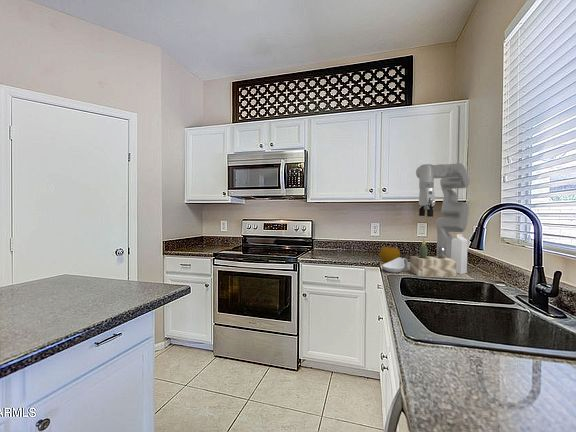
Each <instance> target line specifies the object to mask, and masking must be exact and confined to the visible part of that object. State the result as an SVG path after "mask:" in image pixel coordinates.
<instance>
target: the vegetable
mask: <svg viewBox="0 0 576 432" xmlns="http://www.w3.org/2000/svg"><path fill="white" fill-rule="evenodd" d="M426 243H427V242H426V238H425V237H423V239H422V242H421V245H419V248H418V253H419V254H418V256H419V257H420V258H423V259H427V256H428V246H427V245H426Z"/></svg>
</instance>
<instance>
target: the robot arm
mask: <svg viewBox="0 0 576 432" xmlns="http://www.w3.org/2000/svg"><path fill="white" fill-rule="evenodd" d="M415 175H416V177H417V179H418V180H419V181H418V189H419V193H418V194H419V195H418V202H417V203H418V216H419V217H425V216H426V217H429V218H431V217H434V209H435V208H434V207H435V206H436V205H435V203H436V199H435V189H434V188H435V187H434V186H435V185H434V184H435V180H434V179H440V182H439V184H440V189H441V191H442V194H443V201H442V205H441V209H440V213H441V215H443V216H440V217H438V218H436V221H435V226H436V257H438V247H446V257H448V258H451V243H452V239H454V236H453V234H452V233H463V232H464V233H465V231H466V230H467V225H468V220H469V214H470V206H469V204H468V202H464V201H458V200H459V196H458V193H456V191H454V189H466V188H468V187H469V186H470V178H469V175H468V171H467V169H466V166H464V164H463V163H459V162H457V163H448V164H447V163H445V164H444V163H443V164H442V163H441V164H430V163H426V164H421V165H420V166H418V167H417V168H416V171H415ZM425 207H426V208H427V209H426V208H425ZM451 232H452V233H451Z"/></svg>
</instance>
